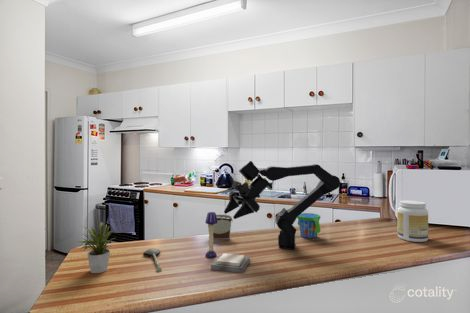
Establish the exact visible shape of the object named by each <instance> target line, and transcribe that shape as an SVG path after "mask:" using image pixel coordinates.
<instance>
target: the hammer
mask: <svg viewBox="0 0 470 313" xmlns="http://www.w3.org/2000/svg"><path fill="white" fill-rule="evenodd" d="M160 252H162V250H161V249H159V248H157V247H156V248H155V247H154V248H153V247H152V248H147V249H145V251H144V252H143V254H146V255H149V256H150V255H151V256H153V259H154V261H155V264H156V269H155V272H161V271H162V267H161V265H160V264H159V260H158V258H157V255H158V254H159V253H160Z"/></svg>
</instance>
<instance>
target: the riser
mask: <svg viewBox="0 0 470 313" xmlns="http://www.w3.org/2000/svg"><path fill="white" fill-rule="evenodd" d="M250 262H251V257H250V256H246V255H245V254H236V253H226V252H223V253H221V254H220V255H219V256H218V257H216V259H215V260H214V261H213V262H212V263H211V264H210V270H215V271H224V272H233V273H241V274H242V273H244V272H245V269H246V268H247V266H248V264H249V263H250Z"/></svg>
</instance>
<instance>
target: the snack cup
mask: <svg viewBox="0 0 470 313" xmlns="http://www.w3.org/2000/svg"><path fill="white" fill-rule="evenodd" d="M296 219H297V225H298V227H299V234H300V236H301V237H303V238H305V239H314V238H316V237H317V236H318V234H319V233H321V231H322V230H321V225H320V220H321V215H320V214H317V213H311V212H302V213H301V214H300V215H299V216H298V217H297V218H296Z"/></svg>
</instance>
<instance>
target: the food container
mask: <svg viewBox="0 0 470 313" xmlns="http://www.w3.org/2000/svg"><path fill="white" fill-rule="evenodd" d="M216 217H217V221H218V222H217V224H214V226H213V228H214V230H213V240H214V239H215V240H218V239H219V240H230V237H231V229H232V228H231V227H232V223H233V216H231V215H227V214H216ZM207 227H208V230H209V224H207Z"/></svg>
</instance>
